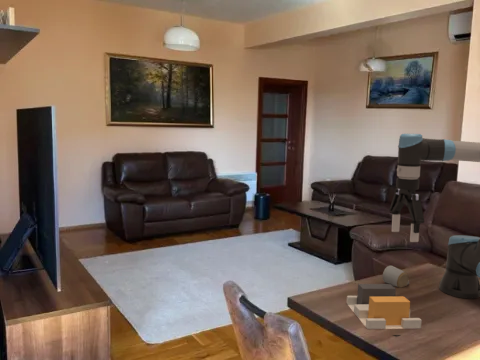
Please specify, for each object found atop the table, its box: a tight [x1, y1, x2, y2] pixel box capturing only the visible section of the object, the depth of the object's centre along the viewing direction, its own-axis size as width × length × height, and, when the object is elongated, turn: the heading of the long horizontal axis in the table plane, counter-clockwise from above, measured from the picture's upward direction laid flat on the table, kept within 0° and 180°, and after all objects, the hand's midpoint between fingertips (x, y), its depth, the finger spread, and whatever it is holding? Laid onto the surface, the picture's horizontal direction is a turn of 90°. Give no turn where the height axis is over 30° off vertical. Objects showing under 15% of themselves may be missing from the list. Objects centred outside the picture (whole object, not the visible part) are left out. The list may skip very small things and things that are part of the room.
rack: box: [346, 295, 423, 330], centre depth 151 cm, size 18×20×4 cm
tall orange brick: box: [368, 295, 411, 325], centre depth 145 cm, size 12×4×8 cm, turn 96°
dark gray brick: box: [356, 283, 397, 304], centre depth 156 cm, size 12×4×8 cm, turn 96°
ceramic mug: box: [382, 265, 410, 288], centre depth 182 cm, size 11×8×8 cm
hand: (404, 236), depth 157 cm, fingers open, 13 cm apart
